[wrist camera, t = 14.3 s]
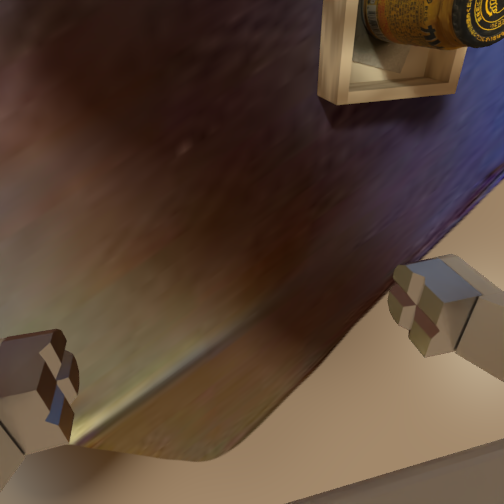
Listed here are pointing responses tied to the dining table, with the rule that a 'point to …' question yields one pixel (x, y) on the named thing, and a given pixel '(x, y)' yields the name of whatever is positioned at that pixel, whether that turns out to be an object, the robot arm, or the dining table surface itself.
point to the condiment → (422, 28)
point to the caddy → (372, 78)
